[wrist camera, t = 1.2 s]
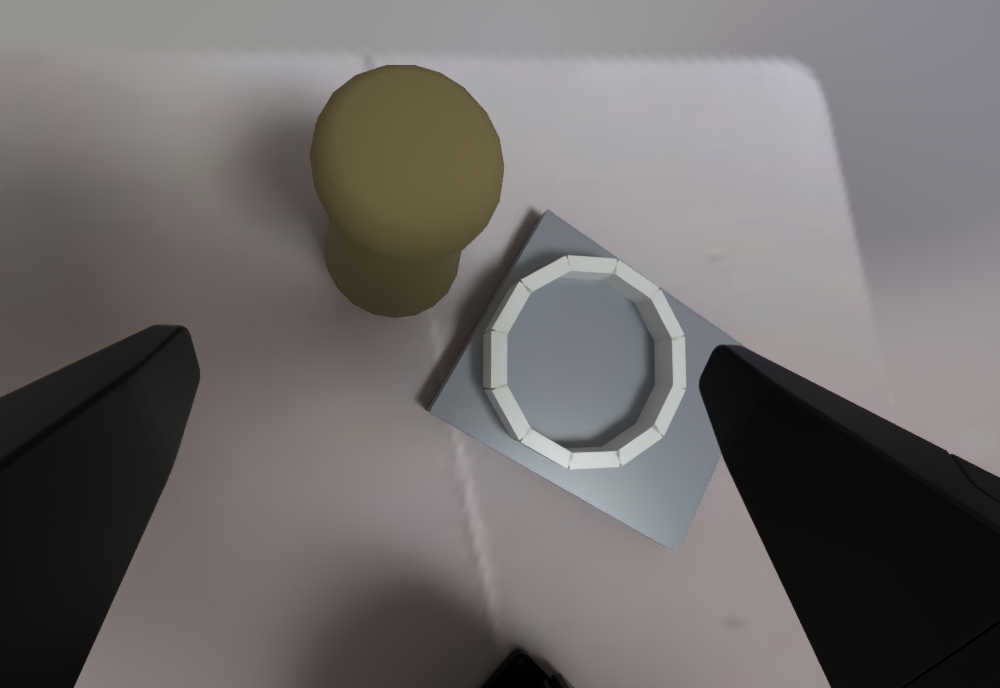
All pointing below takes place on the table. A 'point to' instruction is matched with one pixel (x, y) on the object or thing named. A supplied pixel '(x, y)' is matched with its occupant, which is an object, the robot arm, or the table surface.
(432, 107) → the olive pawn
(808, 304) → the table surface
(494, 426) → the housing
